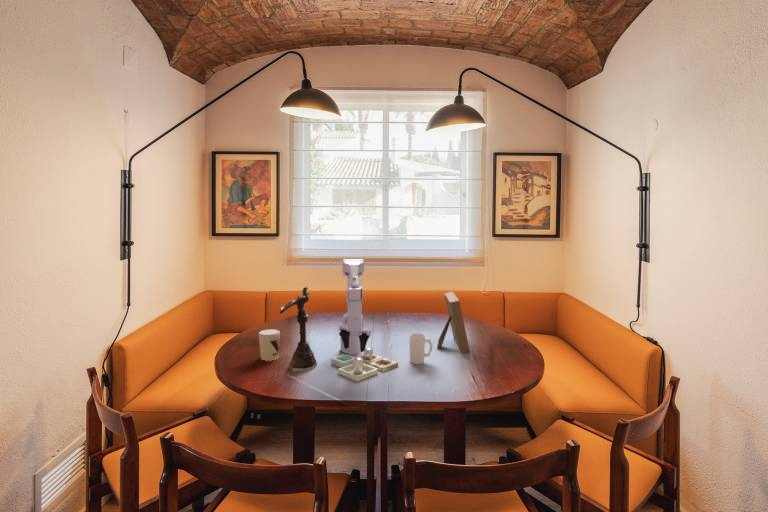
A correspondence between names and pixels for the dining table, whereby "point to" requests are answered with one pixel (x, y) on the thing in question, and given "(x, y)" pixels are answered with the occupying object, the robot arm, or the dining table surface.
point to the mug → (418, 348)
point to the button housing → (342, 363)
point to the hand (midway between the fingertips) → (354, 349)
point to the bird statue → (301, 337)
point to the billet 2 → (368, 353)
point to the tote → (367, 372)
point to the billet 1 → (358, 366)
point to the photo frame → (455, 323)
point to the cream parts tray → (378, 360)
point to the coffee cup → (269, 344)
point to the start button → (344, 358)
